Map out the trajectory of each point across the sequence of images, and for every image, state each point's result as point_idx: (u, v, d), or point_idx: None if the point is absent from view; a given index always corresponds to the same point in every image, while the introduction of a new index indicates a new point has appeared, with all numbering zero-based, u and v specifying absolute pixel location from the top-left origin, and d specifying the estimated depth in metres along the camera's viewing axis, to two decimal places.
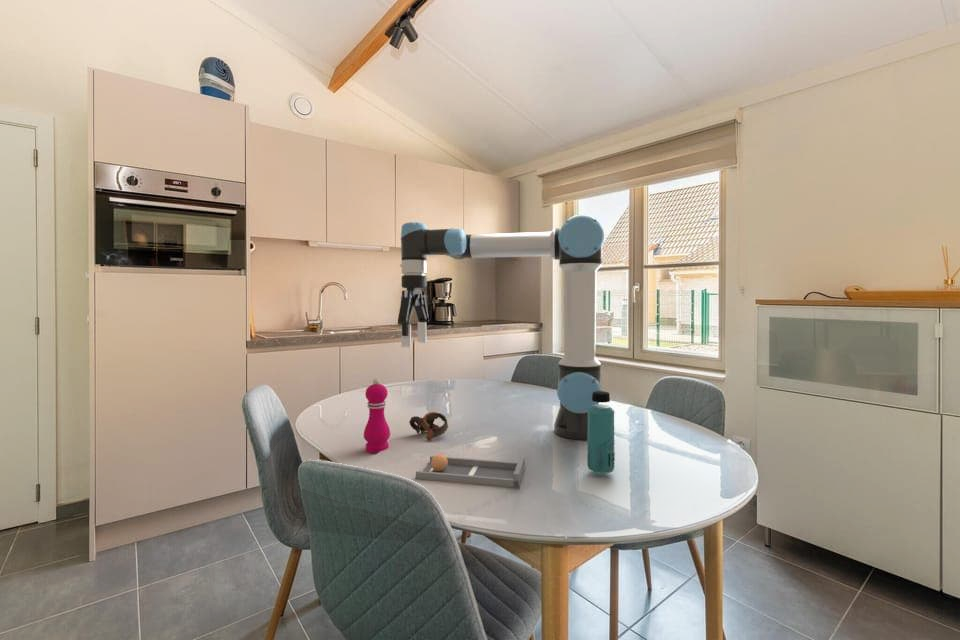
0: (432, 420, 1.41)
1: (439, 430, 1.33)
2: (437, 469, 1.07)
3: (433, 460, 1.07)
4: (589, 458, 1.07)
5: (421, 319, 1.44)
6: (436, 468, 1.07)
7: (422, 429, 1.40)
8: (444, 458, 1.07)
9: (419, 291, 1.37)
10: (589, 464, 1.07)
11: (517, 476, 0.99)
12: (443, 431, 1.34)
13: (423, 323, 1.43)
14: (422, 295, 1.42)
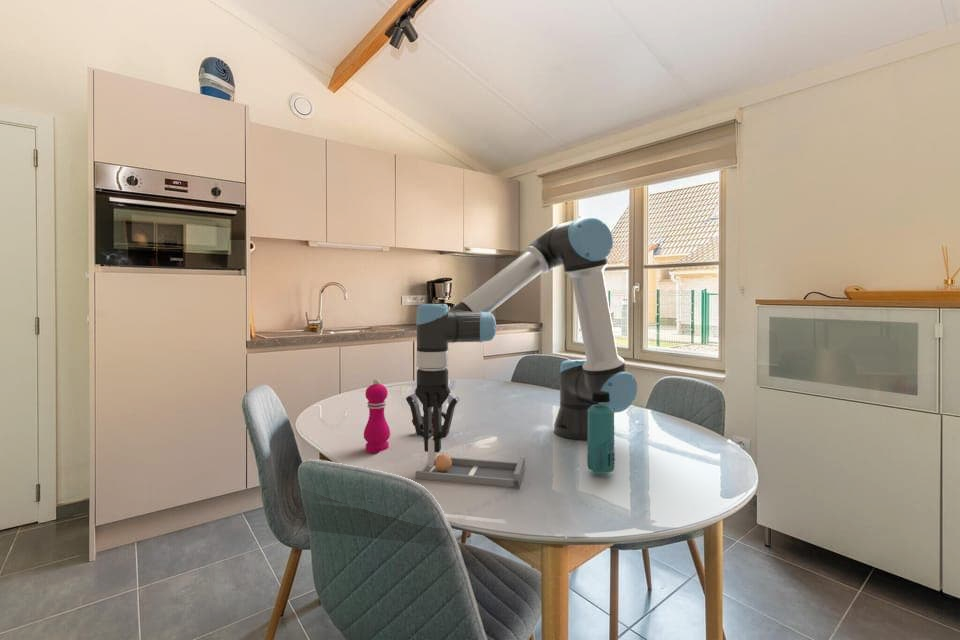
0: None
1: (442, 428, 1.35)
2: (439, 469, 1.07)
3: (439, 459, 1.07)
4: (589, 458, 1.07)
5: None
6: (439, 468, 1.06)
7: None
8: (450, 462, 1.07)
9: (441, 387, 1.06)
10: (589, 464, 1.07)
11: (517, 476, 0.99)
12: None
13: None
14: (450, 401, 1.06)
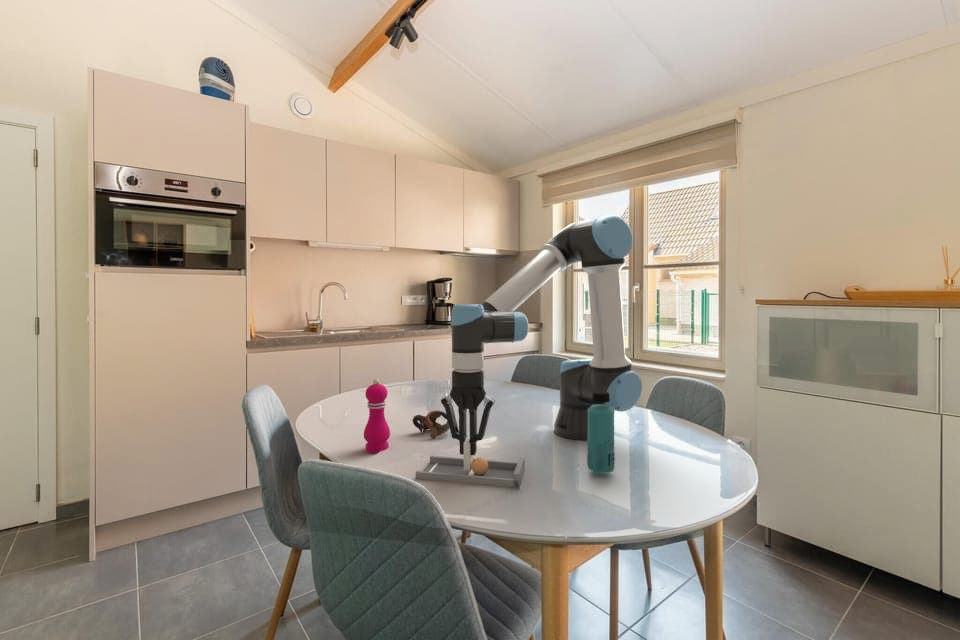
0: (434, 418, 1.43)
1: (442, 428, 1.35)
2: (481, 465, 1.04)
3: (478, 474, 1.05)
4: (589, 458, 1.07)
5: None
6: (480, 467, 1.04)
7: (425, 427, 1.42)
8: (471, 465, 1.06)
9: (477, 388, 1.04)
10: (589, 464, 1.07)
11: (517, 476, 0.99)
12: (446, 429, 1.36)
13: None
14: None
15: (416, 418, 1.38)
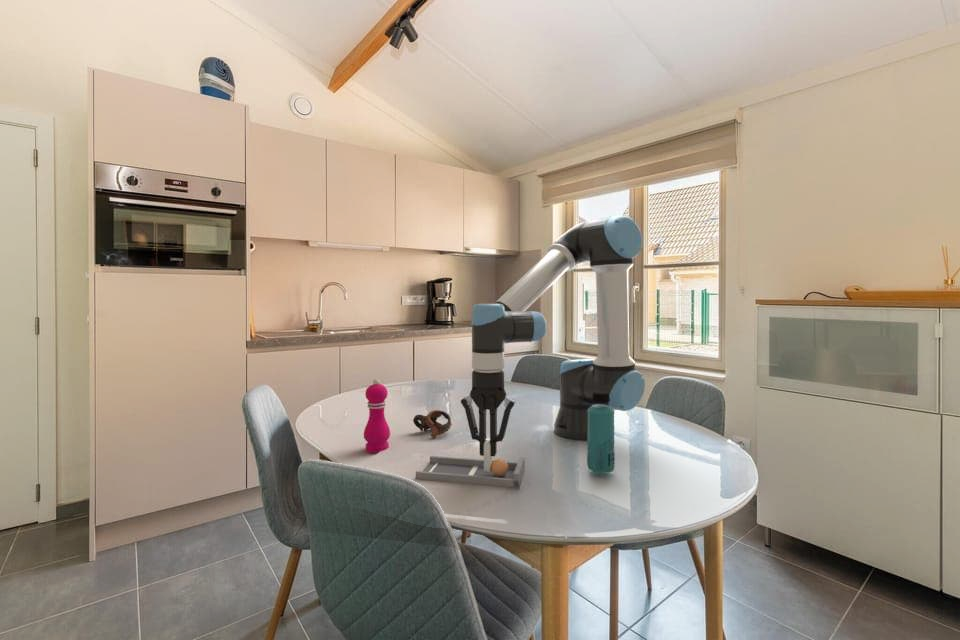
0: (435, 418, 1.43)
1: (443, 428, 1.36)
2: (498, 474, 1.04)
3: (494, 465, 1.04)
4: (589, 458, 1.07)
5: None
6: (497, 473, 1.03)
7: (425, 427, 1.42)
8: (505, 463, 1.04)
9: (497, 389, 1.03)
10: (589, 464, 1.07)
11: (517, 476, 0.99)
12: (447, 429, 1.37)
13: None
14: (507, 404, 1.03)
15: (417, 418, 1.39)
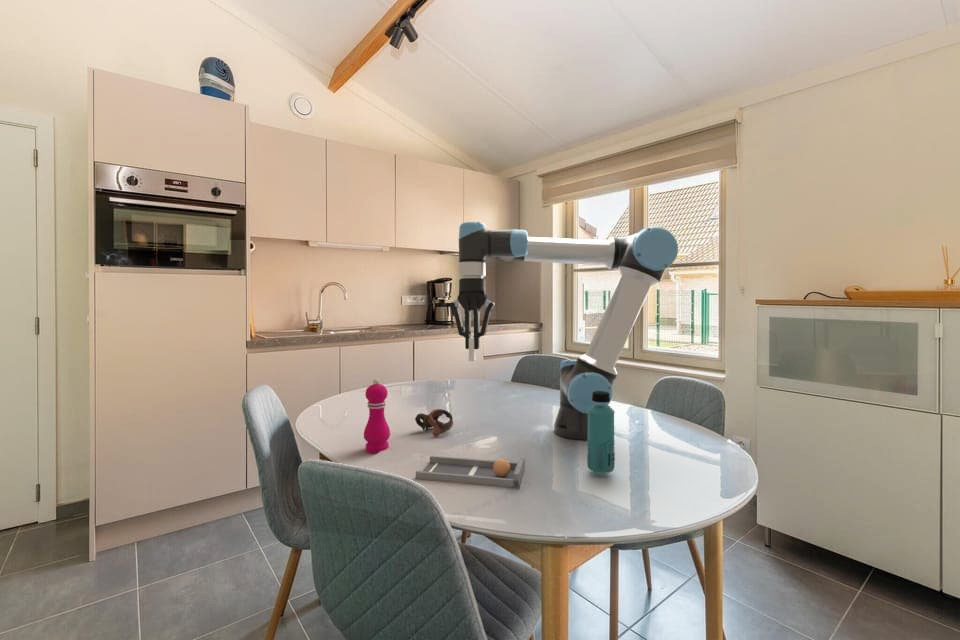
0: (437, 417, 1.45)
1: (445, 426, 1.37)
2: (499, 474, 1.03)
3: (498, 464, 1.04)
4: (589, 458, 1.07)
5: None
6: (499, 473, 1.03)
7: (427, 426, 1.44)
8: (509, 465, 1.04)
9: (479, 292, 1.26)
10: (589, 464, 1.07)
11: (517, 476, 0.99)
12: (449, 427, 1.38)
13: None
14: (488, 305, 1.26)
15: (419, 417, 1.40)
